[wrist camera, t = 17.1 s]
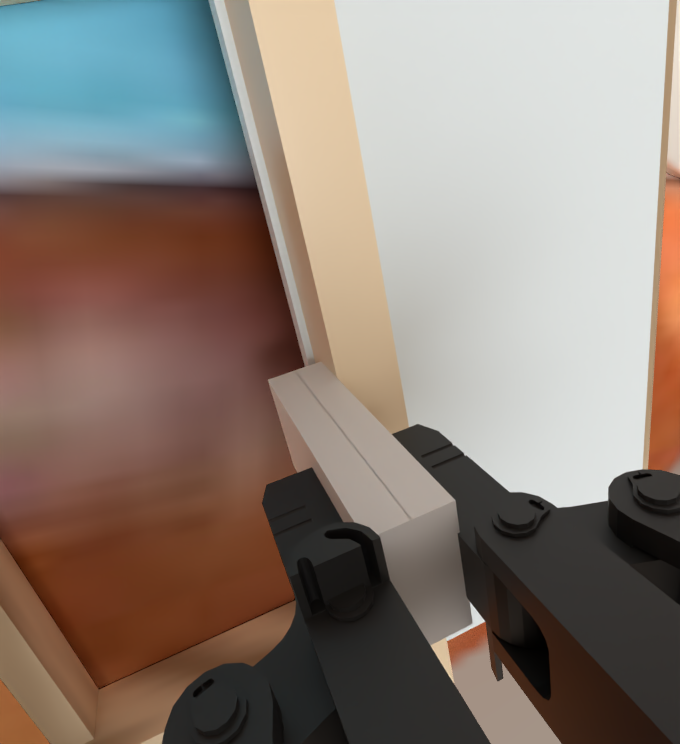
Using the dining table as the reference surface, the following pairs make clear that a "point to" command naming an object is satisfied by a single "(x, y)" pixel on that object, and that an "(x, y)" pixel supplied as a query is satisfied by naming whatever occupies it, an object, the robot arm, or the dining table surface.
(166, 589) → the dining table surface
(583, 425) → the lid
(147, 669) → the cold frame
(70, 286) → the dining table surface
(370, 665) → the robot arm
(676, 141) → the saucer
